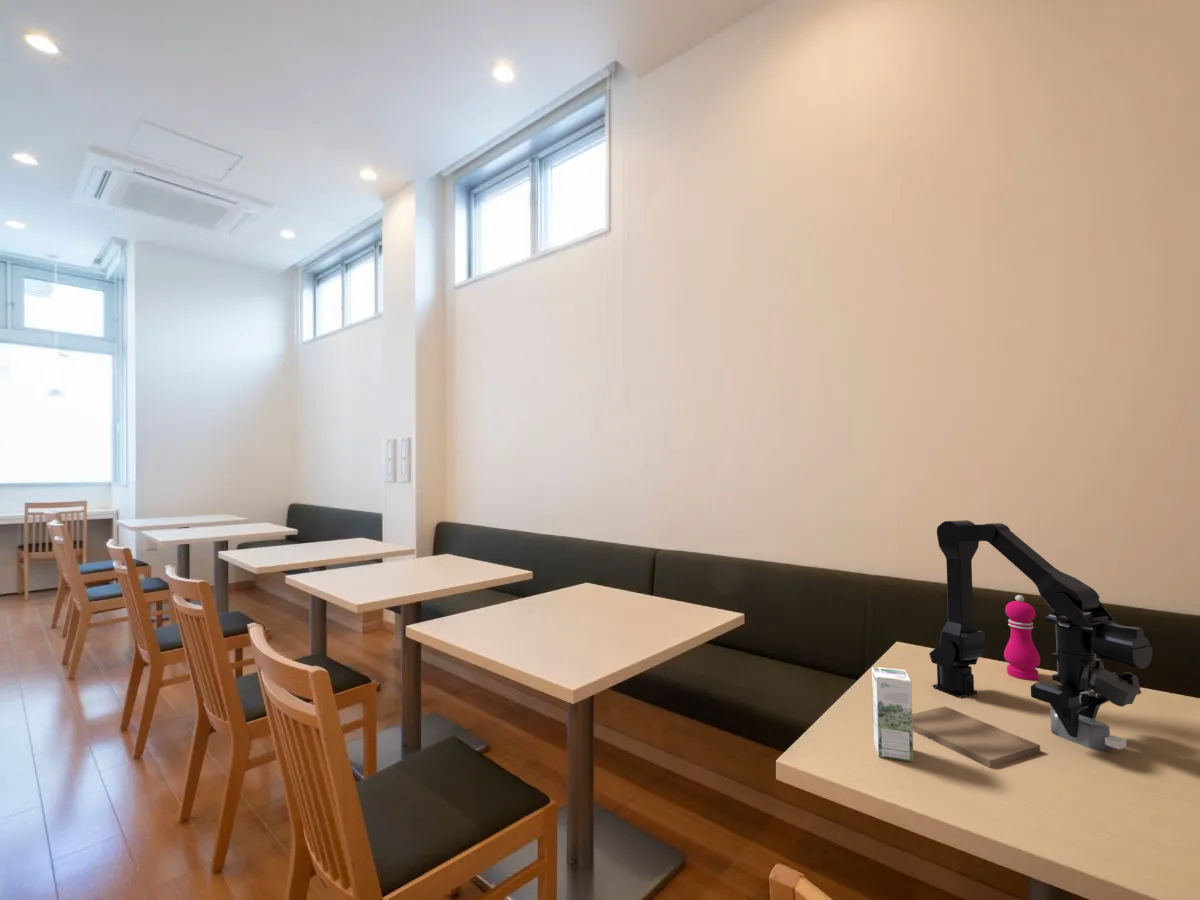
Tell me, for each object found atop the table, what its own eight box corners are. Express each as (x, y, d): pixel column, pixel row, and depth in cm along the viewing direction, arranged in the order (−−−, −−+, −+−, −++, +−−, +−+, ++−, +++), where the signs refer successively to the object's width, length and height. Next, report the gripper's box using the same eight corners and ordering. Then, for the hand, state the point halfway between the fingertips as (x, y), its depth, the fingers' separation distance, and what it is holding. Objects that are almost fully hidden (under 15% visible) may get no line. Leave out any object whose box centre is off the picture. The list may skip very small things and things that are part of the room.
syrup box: (907, 747, 100) (904, 668, 101) (914, 763, 95) (911, 679, 96) (873, 742, 102) (871, 664, 103) (878, 758, 97) (875, 675, 97)
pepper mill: (1028, 670, 139) (1025, 592, 140) (1048, 681, 132) (1045, 598, 133) (998, 669, 140) (995, 591, 141) (1016, 680, 133) (1013, 598, 134)
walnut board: (897, 723, 110) (897, 717, 110) (945, 711, 115) (945, 706, 115) (989, 767, 93) (989, 760, 93) (1040, 751, 99) (1040, 745, 99)
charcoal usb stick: (1046, 731, 106) (1045, 710, 107) (1058, 727, 108) (1057, 707, 108) (1116, 758, 96) (1115, 735, 96) (1129, 754, 98) (1128, 731, 98)
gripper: (1098, 671, 93) (1103, 765, 92) (1158, 657, 100) (1162, 744, 99) (1027, 652, 103) (1030, 736, 102) (1085, 640, 110) (1088, 719, 109)
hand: (1079, 734), depth 103 cm, fingers closed on charcoal usb stick, 4 cm apart
